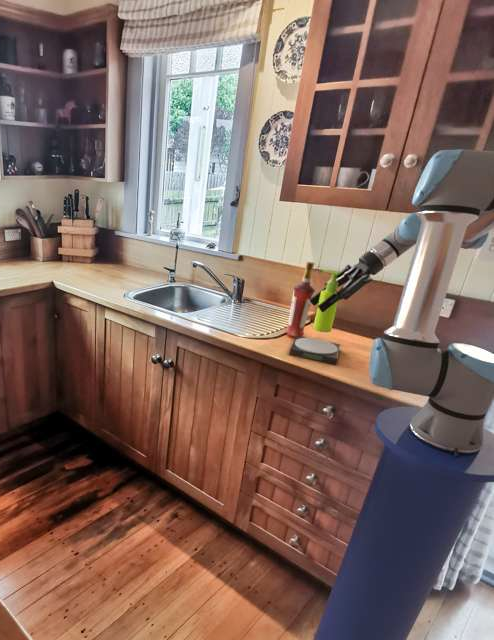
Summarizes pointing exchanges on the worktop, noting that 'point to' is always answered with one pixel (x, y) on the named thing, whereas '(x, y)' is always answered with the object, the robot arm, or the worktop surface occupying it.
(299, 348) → the kitchen scale
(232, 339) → the worktop surface
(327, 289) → the soap dispenser
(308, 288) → the liquor
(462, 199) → the robot arm
